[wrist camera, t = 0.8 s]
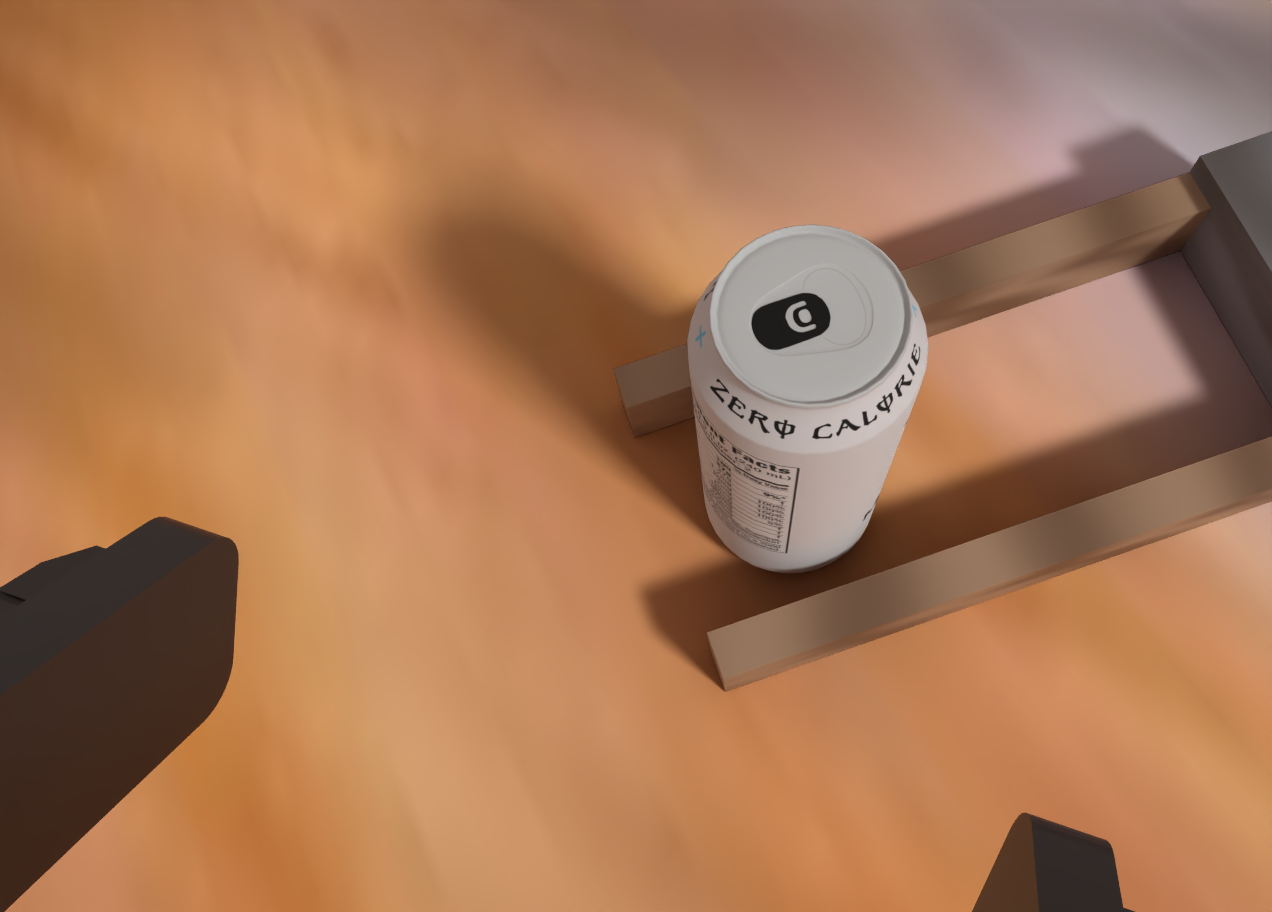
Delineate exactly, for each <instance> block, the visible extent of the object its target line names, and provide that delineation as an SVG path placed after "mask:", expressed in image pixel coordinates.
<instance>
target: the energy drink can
mask: <svg viewBox="0 0 1272 912" xmlns="http://www.w3.org/2000/svg"><path fill="white" fill-rule="evenodd" d="M687 343H688V362H689V371H690V380H691V388H692V397H693V405H694V414H695V423H696V431H697V440H698V448H699V457H700V466H701V474H702V483H703V492H704V500H705V506H706V510H707V513H708V517H709V520H710V522H711V524H712V526H713V528H714V530H715V532H716V534H717V535H718V536H719V538H720V539H721V540H722V542H723V543H724V544H725V545H726V547H728V548H729V549H730V550H731V551H732V552H733V553H735V554H736V555H737V556H738V557H739V558H741V559H743V560H745V561H746V562H748V563H750V564H752V565H753V566H756V567H759V568H762V569H765V570H768V571H773V572H780V573H804V572H808V571H812V570H816V569H820V568H822V567H824V566H826V565H828V564H831V563H833V562H835V561H836V560H838V559H839V558H840V557H842V556H843V555H844V554H846V553H847V552H849V550H850V549H851V548H852V547H853V546H854V545H855V544H856V543H857V542H858V540H859V539H860V538H861V536H862V534H863V532H864V531H865V529H866V527H867V525H868V523H869V520H870V518H871V515H872V513H873V510H874V507H875V505H876V502H877V499H878V497H879V494H880V492H881V489H882V486H883V484H884V481H885V478H886V476H887V473H888V471H889V468H890V465H891V463H892V460H893V457H894V455H895V452H896V450H897V447H898V444H899V442H900V439H901V437H902V434H903V431H904V429H905V426H906V423H907V421H908V418H909V416H910V413H911V410H912V408H913V405H914V402H915V400H916V397H917V395H918V392H919V389H920V386H921V383H922V380H923V377H924V374H925V371H926V368H927V357H928V339H927V331H926V324H925V322H924V319H923V316H922V313H921V310H920V308H919V305H918V303H917V301H916V300H915V298H914V297H913V295H912V293H911V292H910V290H909V289H908V287H907V284H906V281H905V279H904V278H903V276H902V274H901V273H900V271H899V269H898V268H897V266H896V265H895V264H894V262H893V261H892V260H891V259H890V258H889V257H888V256H887V255H886V254H885V253H884V252H883V251H882V250H881V249H879V248H878V247H877V246H875V245H874V244H872V243H871V242H870V241H868V240H867V239H865V238H862V237H860V236H858V235H856V234H854V233H852V232H850V231H846V230H842V229H839V228H835V227H831V226H822V225H800V226H791V227H787V228H783V229H779V230H775V231H772V232H770V233H768V234H765V235H763V236H761V237H759V238H757V239H755V240H754V241H752V242H751V243H749V244H748V245H746V246H745V247H743V248H742V249H741V250H740V251H739V252H738V253H737V254H736V255H735V256H734V257H733V258H732V259H731V260H730V261H729V262H728V263H727V265H726V266H725V268H724V269H723V270H722V271H721V272H720V273H719V274H718V275H717V276H716V277H715V278H714V279H713V280H712V281H711V282H710V284H709V285H708V287H707V288H706V290H705V291H704V293H703V295H702V296H701V298H700V299H699V301H698V303H697V306H696V308H695V311H694V313H693V316H692V318H691V322H690V328H689V334H688V340H687Z"/></svg>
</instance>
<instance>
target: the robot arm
mask: <svg viewBox="0 0 1272 912" xmlns="http://www.w3.org/2000/svg"><path fill="white" fill-rule="evenodd" d="M237 580H238V550H237V547H236V545H235V543H234V542H233V541H232V540H231V539H229V538H226V537H223V536H220V535H218V534H215V533H212V532H209V531H206V530H203V529H200V528H197V527H194V526H191V525H188V524H185V523H182V522H179V521H177V520H174V519H171V518H167V517H157V518H154V519H152V520H150V521H148V522H147V523H145V524H144V525H142V526H141V527H139V528H137V529H136V530H134V531H133V532H131V533H130V534H128V535H127V536H125V537H123V538H122V539H120V540H119V541H117V542H116V543H114V544H113V545H111V546H110V547H108V548H106V549H105V548H102V547H99V546H94V547H90V548H87V549H84V550H81V551H77V552H74V553H71V554H68V555H64V556H61V557H58V558H55V559H51V560H48V561H45V562H41V563H40V564H38V565H36V566H35V567H33V568H31V569H30V570H28V571H27V572H25V573H23V574H22V575H20V576H18V577H17V578H15V579H14V580H12V581H10V582H9V583H7V584H5V585H4V586H2V587H0V912H4V911H6V910H7V909H8V908H9V907H10V906H11V905H12V904H13V903H14V902H15V901H16V900H17V899H18V898H19V897H20V896H21V895H22V894H23V893H24V892H25V891H26V890H28V889H29V888H30V887H31V886H32V885H33V884H34V883H35V882H36V881H37V880H38V879H39V878H40V877H41V876H42V875H43V874H44V873H45V872H46V871H47V870H49V869H50V868H51V867H52V866H53V865H54V864H55V863H56V862H57V861H58V860H59V859H60V858H61V857H62V856H63V855H64V854H65V853H66V852H67V851H68V850H69V849H71V848H72V847H73V846H74V845H75V844H76V843H77V842H78V841H79V840H80V839H81V838H82V837H83V836H84V835H85V834H86V833H87V832H88V831H89V830H90V829H92V828H93V827H94V826H95V825H96V824H97V823H98V822H99V821H100V820H101V819H102V818H103V817H104V816H105V815H106V814H107V813H108V812H109V811H110V810H111V809H112V808H114V807H115V806H116V805H117V804H118V803H119V802H120V801H121V800H122V799H123V798H124V797H125V796H126V795H127V794H128V793H129V792H130V791H131V790H132V789H133V788H135V787H136V786H137V785H138V784H139V783H140V782H141V781H142V780H143V779H144V778H145V777H146V776H147V775H148V774H149V773H150V772H151V771H152V770H153V769H154V768H156V767H157V766H158V765H159V764H160V763H161V762H162V761H163V760H164V759H165V758H166V757H167V756H168V755H169V754H170V753H171V752H172V751H173V750H174V749H175V748H176V747H178V746H179V745H180V744H181V743H182V742H183V741H184V740H185V739H186V738H187V737H188V736H189V735H190V734H191V733H192V732H193V731H194V730H195V729H196V728H197V727H199V726H200V725H201V724H202V723H203V722H204V721H205V720H206V718H207V717H208V716H209V715H210V714H211V712H212V711H213V710H214V708H215V707H216V705H217V704H218V702H219V700H220V698H221V696H222V694H223V692H224V690H225V688H226V685H227V683H228V680H229V677H230V674H231V669H232V664H233V653H234V635H235V617H236V598H237ZM972 912H1134V911H1131V910H1129V909H1126V908H1123V904H1122V898H1121V893H1120V887H1119V881H1118V875H1117V870H1116V864H1115V858H1114V853H1113V849H1112V847H1111V845H1110V843H1109V842H1108V841H1107V840H1104V839H1101V838H1098V837H1095V836H1092V835H1090V834H1087V833H1084V832H1081V831H1078V830H1075V829H1072V828H1069V827H1066V826H1063V825H1060V824H1057V823H1054V822H1051V821H1049V820H1046V819H1043V818H1040V817H1037V816H1034V815H1031V814H1028V813H1022V814H1021V815H1019V817H1018V818H1017V819H1016V820H1015V822H1014V823H1013V825H1012V827H1011V829H1010V831H1009V833H1008V835H1007V837H1006V840H1005V842H1004V844H1003V846H1002V848H1001V850H1000V853H999V855H998V857H997V859H996V861H995V863H994V865H993V868H992V870H991V872H990V874H989V876H988V878H987V881H986V883H985V885H984V887H983V889H982V891H981V893H980V896H979V898H978V900H977V902H976V904H975V906H974V908H973V911H972Z"/></svg>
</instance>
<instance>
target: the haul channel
mask: <svg viewBox="0 0 1272 912" xmlns="http://www.w3.org/2000/svg"><path fill="white" fill-rule="evenodd" d="M1178 251H1181V253H1182V255H1183V256H1184V258H1185V260H1186V261H1187V263H1188V265H1189V267H1190V268H1191V270H1192V272H1193V273H1194V275H1195V277H1196V278H1197V280H1198V282H1199V284H1200V285H1201V287H1202V289H1203V290H1204V292H1205V294H1206V296H1207V297H1208V299H1209V301H1210V302H1211V304H1212V306H1213V308H1214V309H1215V311H1216V313H1217V314H1218V316H1219V318H1220V319H1221V321H1222V323H1223V325H1224V326H1225V328H1226V330H1227V331H1228V333H1229V335H1230V337H1231V338H1232V340H1233V342H1234V343H1235V345H1236V347H1237V348H1238V350H1239V352H1240V354H1241V355H1242V357H1243V359H1244V360H1245V362H1246V364H1247V366H1248V367H1249V369H1250V371H1251V372H1252V374H1253V376H1254V378H1255V379H1256V381H1257V383H1258V384H1259V386H1260V388H1261V389H1262V391H1263V393H1264V395H1265V396H1266V398H1267V400H1268V401H1269V403H1270V405H1271V407H1272V132H1269V133H1266V134H1263V135H1260V136H1257V137H1254V138H1251V139H1249V140H1246V141H1243V142H1240V143H1237V144H1234V145H1231V146H1228V147H1225V148H1222V149H1219V150H1216V151H1213V152H1210V153H1207V154H1205V155H1202V156H1200V157H1199V159H1198V160H1197V162H1196V163H1195V165H1194V166H1193V168H1192V169H1191V171H1190V172H1189V173H1186V174H1183V175H1180V176H1177V177H1174V178H1171V179H1168V180H1165V181H1162V182H1159V183H1156V184H1154V185H1151V186H1148V187H1145V188H1142V189H1139V190H1136V191H1133V192H1130V193H1127V194H1124V195H1121V196H1118V197H1115V198H1113V199H1110V200H1107V201H1104V202H1101V203H1098V204H1095V205H1092V206H1089V207H1086V208H1083V209H1080V210H1077V211H1074V212H1072V213H1069V214H1066V215H1063V216H1060V217H1057V218H1054V219H1051V220H1048V221H1045V222H1042V223H1039V224H1036V225H1033V226H1030V227H1028V228H1025V229H1022V230H1019V231H1016V232H1013V233H1010V234H1007V235H1004V236H1001V237H998V238H995V239H992V240H989V241H987V242H984V243H981V244H978V245H975V246H972V247H969V248H966V249H963V250H960V251H957V252H954V253H951V254H948V255H946V256H943V257H940V258H937V259H934V260H931V261H928V262H925V263H922V264H919V265H916V266H913V267H910V268H907V269H905V270H902V271H900V273H901V274H902V276H903V278H904V279H905V281H906V284H907V287H908V289H909V290H910V292H911V293H912V295H913V297H914V298H915V300H916V301H917V303H918V305H919V308H920V310H921V313H922V316H923V319H924V322H925V324H926V331H927V337H930V336H933V335H936V334H939V333H942V332H945V331H947V330H950V329H953V328H956V327H959V326H962V325H965V324H968V323H971V322H974V321H977V320H980V319H982V318H985V317H988V316H991V315H994V314H997V313H1000V312H1003V311H1006V310H1009V309H1012V308H1015V307H1017V306H1020V305H1023V304H1026V303H1029V302H1032V301H1035V300H1038V299H1041V298H1044V297H1047V296H1050V295H1052V294H1055V293H1058V292H1061V291H1064V290H1067V289H1070V288H1073V287H1076V286H1079V285H1082V284H1084V283H1087V282H1090V281H1093V280H1096V279H1099V278H1102V277H1105V276H1108V275H1111V274H1114V273H1117V272H1119V271H1122V270H1125V269H1128V268H1131V267H1134V266H1137V265H1140V264H1143V263H1146V262H1149V261H1152V260H1154V259H1157V258H1160V257H1163V256H1166V255H1169V254H1172V253H1175V252H1178ZM613 370H614V374H615V377H616V381H617V385H618V388H619V392H620V395H621V399H622V402H623V405H624V408H625V411H626V414H627V416H628V419H629V422H630V425H631V428H632V431H633V433H634V436H635V437H638V436H641V435H644V434H647V433H650V432H653V431H656V430H659V429H662V428H665V427H667V426H670V425H673V424H676V423H679V422H682V421H685V420H688V419H691V418H694V417H695V414H694V405H693V397H692V388H691V380H690V371H689V362H688V344H685V345H682V346H679V347H676V348H673V349H670V350H667V351H664V352H661V353H658V354H655V355H653V356H650V357H647V358H644V359H641V360H638V361H635V362H632V363H629V364H626V365H623V366H620V367H617V368H614V369H613ZM1271 501H1272V436H1271V437H1268V438H1265V439H1262V440H1260V441H1257V442H1254V443H1251V444H1248V445H1245V446H1242V447H1239V448H1237V449H1234V450H1231V451H1228V452H1225V453H1222V454H1219V455H1216V456H1214V457H1211V458H1208V459H1205V460H1202V461H1199V462H1196V463H1193V464H1191V465H1188V466H1185V467H1182V468H1179V469H1176V470H1173V471H1170V472H1168V473H1165V474H1162V475H1159V476H1156V477H1153V478H1150V479H1147V480H1145V481H1142V482H1139V483H1136V484H1133V485H1130V486H1127V487H1124V488H1121V489H1119V490H1116V491H1113V492H1110V493H1107V494H1104V495H1101V496H1098V497H1096V498H1093V499H1090V500H1087V501H1084V502H1081V503H1078V504H1075V505H1073V506H1070V507H1067V508H1064V509H1061V510H1058V511H1055V512H1052V513H1050V514H1047V515H1044V516H1041V517H1038V518H1035V519H1032V520H1029V521H1027V522H1024V523H1021V524H1018V525H1015V526H1012V527H1009V528H1006V529H1004V530H1001V531H998V532H995V533H992V534H989V535H986V536H983V537H980V538H978V539H975V540H972V541H969V542H966V543H963V544H960V545H957V546H955V547H952V548H949V549H946V550H943V551H940V552H937V553H934V554H932V555H929V556H926V557H923V558H920V559H917V560H914V561H911V562H909V563H906V564H903V565H900V566H897V567H894V568H891V569H888V570H886V571H883V572H880V573H877V574H874V575H871V576H868V577H865V578H863V579H860V580H857V581H854V582H851V583H848V584H845V585H842V586H839V587H837V588H834V589H831V590H828V591H825V592H822V593H819V594H816V595H814V596H811V597H808V598H805V599H802V600H799V601H796V602H793V603H791V604H788V605H785V606H782V607H779V608H776V609H773V610H770V611H768V612H765V613H762V614H759V615H756V616H753V617H750V618H747V619H745V620H742V621H739V622H736V623H733V624H730V625H727V626H724V627H722V628H719V629H716V630H713V631H710V632H707V636H708V642H709V648H710V651H711V654H712V656H713V659H714V662H715V665H716V668H717V670H718V673H719V676H720V679H721V682H722V685H723V687H724V690H725V692H726V691H729V690H732V689H735V688H738V687H740V686H743V685H746V684H749V683H752V682H755V681H758V680H760V679H763V678H766V677H769V676H772V675H775V674H778V673H781V672H783V671H786V670H789V669H792V668H795V667H798V666H801V665H803V664H806V663H809V662H812V661H815V660H818V659H821V658H824V657H826V656H829V655H832V654H835V653H838V652H841V651H844V650H846V649H849V648H852V647H855V646H858V645H861V644H864V643H867V642H869V641H872V640H875V639H878V638H881V637H884V636H887V635H889V634H892V633H895V632H898V631H901V630H904V629H907V628H910V627H912V626H915V625H918V624H921V623H924V622H927V621H930V620H932V619H935V618H938V617H941V616H944V615H947V614H950V613H953V612H955V611H958V610H961V609H964V608H967V607H970V606H973V605H975V604H978V603H981V602H984V601H987V600H990V599H993V598H996V597H998V596H1001V595H1004V594H1007V593H1010V592H1013V591H1016V590H1018V589H1021V588H1024V587H1027V586H1030V585H1033V584H1036V583H1039V582H1041V581H1044V580H1047V579H1050V578H1053V577H1056V576H1059V575H1061V574H1064V573H1067V572H1070V571H1073V570H1076V569H1079V568H1082V567H1084V566H1087V565H1090V564H1093V563H1096V562H1099V561H1102V560H1104V559H1107V558H1110V557H1113V556H1116V555H1119V554H1122V553H1125V552H1127V551H1130V550H1133V549H1136V548H1139V547H1142V546H1145V545H1147V544H1150V543H1153V542H1156V541H1159V540H1162V539H1165V538H1168V537H1170V536H1173V535H1176V534H1179V533H1182V532H1185V531H1188V530H1190V529H1193V528H1196V527H1199V526H1202V525H1205V524H1208V523H1210V522H1213V521H1216V520H1219V519H1222V518H1225V517H1228V516H1231V515H1233V514H1236V513H1239V512H1242V511H1245V510H1248V509H1251V508H1253V507H1256V506H1259V505H1262V504H1265V503H1268V502H1271Z"/></svg>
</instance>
